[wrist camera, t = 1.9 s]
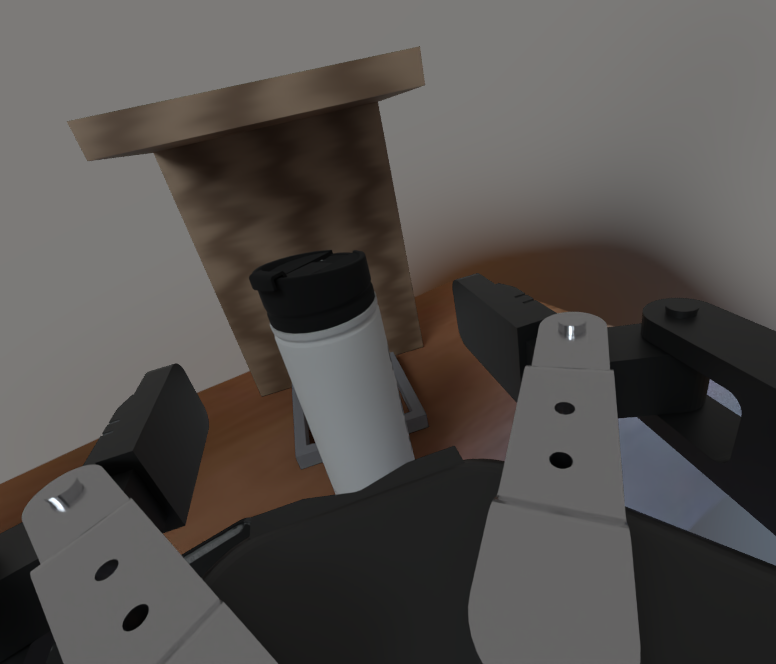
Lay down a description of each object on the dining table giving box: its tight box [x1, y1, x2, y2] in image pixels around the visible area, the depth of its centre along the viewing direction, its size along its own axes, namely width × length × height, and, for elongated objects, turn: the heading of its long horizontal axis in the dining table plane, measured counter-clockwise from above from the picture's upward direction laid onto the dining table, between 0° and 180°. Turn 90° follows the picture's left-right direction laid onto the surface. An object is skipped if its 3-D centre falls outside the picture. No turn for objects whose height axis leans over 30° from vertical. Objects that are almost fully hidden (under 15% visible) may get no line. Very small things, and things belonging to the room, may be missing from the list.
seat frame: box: [292, 352, 429, 469], centre depth 41 cm, size 12×12×2 cm
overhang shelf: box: [67, 46, 425, 396], centre depth 36 cm, size 20×16×28 cm
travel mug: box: [249, 250, 415, 495], centre depth 26 cm, size 6×7×20 cm
